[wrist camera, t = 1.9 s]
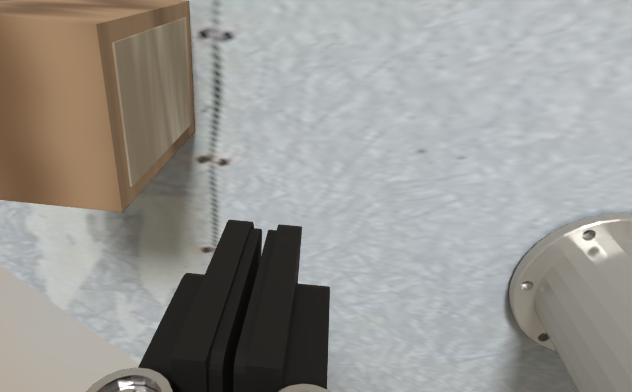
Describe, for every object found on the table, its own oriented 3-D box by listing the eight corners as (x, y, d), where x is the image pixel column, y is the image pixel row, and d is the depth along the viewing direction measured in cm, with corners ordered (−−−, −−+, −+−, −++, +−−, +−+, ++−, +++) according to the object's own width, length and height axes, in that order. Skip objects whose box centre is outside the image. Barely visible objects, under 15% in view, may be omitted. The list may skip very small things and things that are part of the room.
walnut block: (190, 1, 26) (98, 24, 16) (196, 130, 30) (124, 212, 20) (87, -9, 26) (-65, 8, 16) (106, 121, 30) (-9, 198, 20)
